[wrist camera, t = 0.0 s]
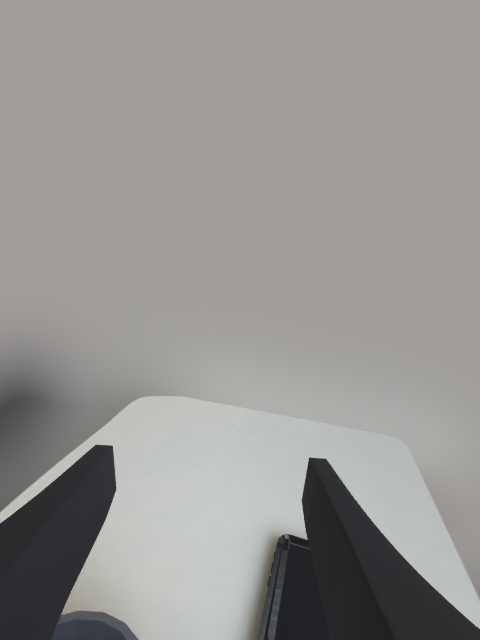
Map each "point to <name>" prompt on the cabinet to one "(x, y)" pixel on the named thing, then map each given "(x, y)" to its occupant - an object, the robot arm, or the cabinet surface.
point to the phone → (293, 595)
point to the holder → (91, 627)
